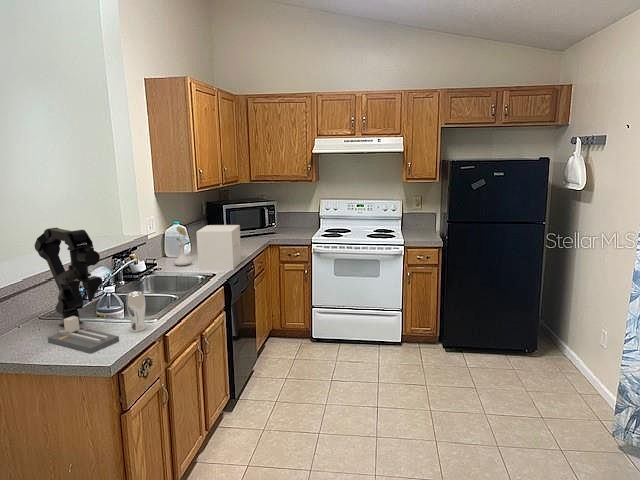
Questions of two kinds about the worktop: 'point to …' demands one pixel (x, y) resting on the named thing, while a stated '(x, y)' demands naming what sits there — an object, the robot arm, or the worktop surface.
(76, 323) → the fader knob
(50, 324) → the worktop surface
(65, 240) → the robot arm
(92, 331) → the fader console
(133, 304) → the beer glass
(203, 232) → the cube
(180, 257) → the flower in vase
